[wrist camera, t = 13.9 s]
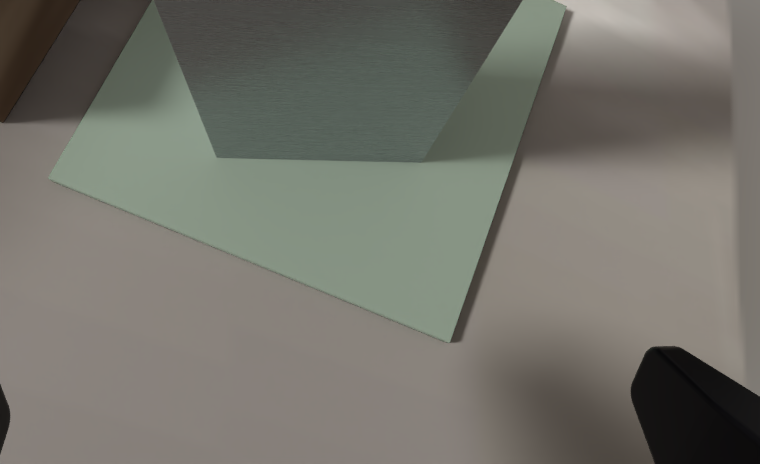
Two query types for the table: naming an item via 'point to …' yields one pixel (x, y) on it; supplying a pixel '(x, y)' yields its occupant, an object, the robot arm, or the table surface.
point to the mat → (318, 180)
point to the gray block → (330, 72)
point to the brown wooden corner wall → (26, 42)
